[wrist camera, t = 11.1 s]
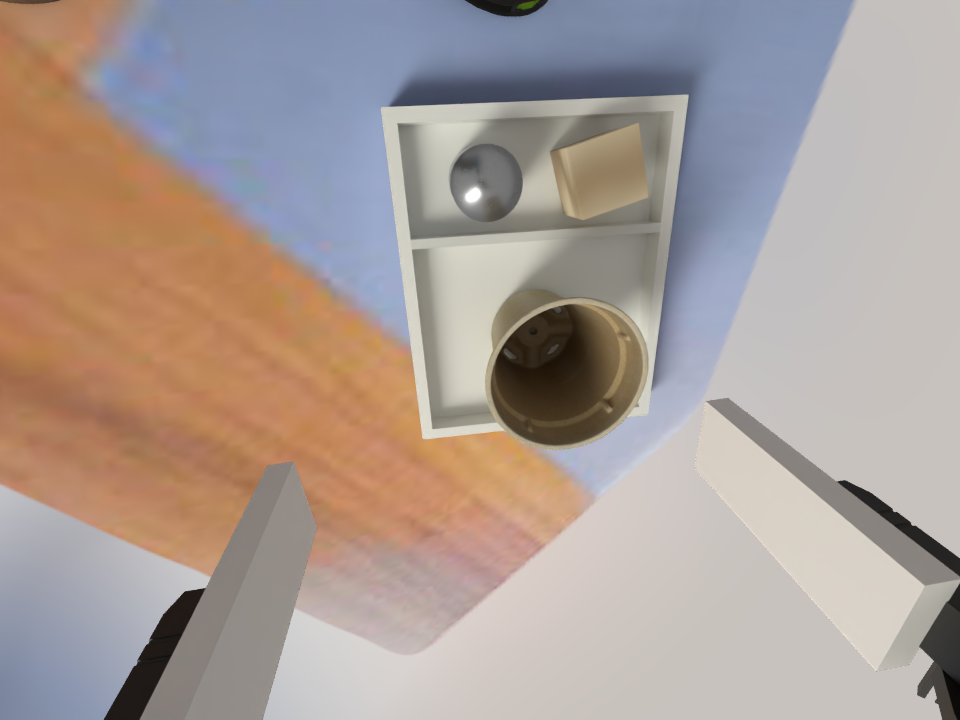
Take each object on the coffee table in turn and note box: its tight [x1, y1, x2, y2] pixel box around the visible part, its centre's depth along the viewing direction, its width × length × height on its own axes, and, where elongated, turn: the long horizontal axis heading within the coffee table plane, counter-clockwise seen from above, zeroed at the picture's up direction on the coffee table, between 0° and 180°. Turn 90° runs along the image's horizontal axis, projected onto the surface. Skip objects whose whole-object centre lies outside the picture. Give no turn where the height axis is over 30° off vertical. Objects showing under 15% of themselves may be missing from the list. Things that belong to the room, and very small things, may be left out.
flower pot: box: [485, 290, 649, 450], centre depth 27 cm, size 9×9×9 cm
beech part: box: [550, 123, 649, 220], centre depth 26 cm, size 4×4×4 cm
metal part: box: [448, 144, 523, 222], centre depth 25 cm, size 4×4×4 cm
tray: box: [381, 95, 689, 439], centre depth 30 cm, size 22×18×2 cm
